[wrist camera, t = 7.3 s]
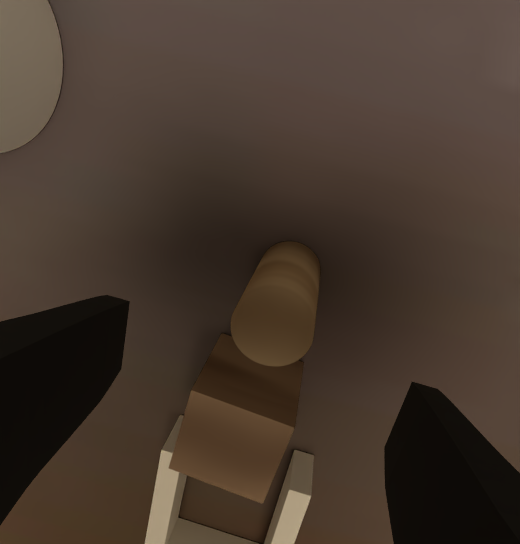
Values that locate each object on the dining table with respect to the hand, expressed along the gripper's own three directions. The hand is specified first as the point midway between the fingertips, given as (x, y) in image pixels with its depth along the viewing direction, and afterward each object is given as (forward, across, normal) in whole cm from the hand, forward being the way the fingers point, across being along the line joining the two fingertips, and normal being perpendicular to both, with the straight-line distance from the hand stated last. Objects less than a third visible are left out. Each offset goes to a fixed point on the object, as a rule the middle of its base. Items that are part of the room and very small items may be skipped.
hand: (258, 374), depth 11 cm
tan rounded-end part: (+8, 0, +3) cm, 9 cm away
